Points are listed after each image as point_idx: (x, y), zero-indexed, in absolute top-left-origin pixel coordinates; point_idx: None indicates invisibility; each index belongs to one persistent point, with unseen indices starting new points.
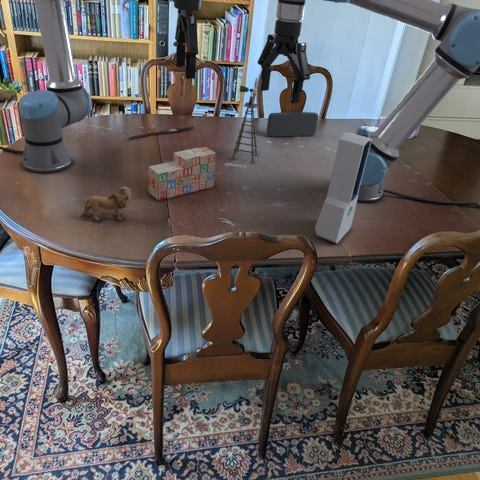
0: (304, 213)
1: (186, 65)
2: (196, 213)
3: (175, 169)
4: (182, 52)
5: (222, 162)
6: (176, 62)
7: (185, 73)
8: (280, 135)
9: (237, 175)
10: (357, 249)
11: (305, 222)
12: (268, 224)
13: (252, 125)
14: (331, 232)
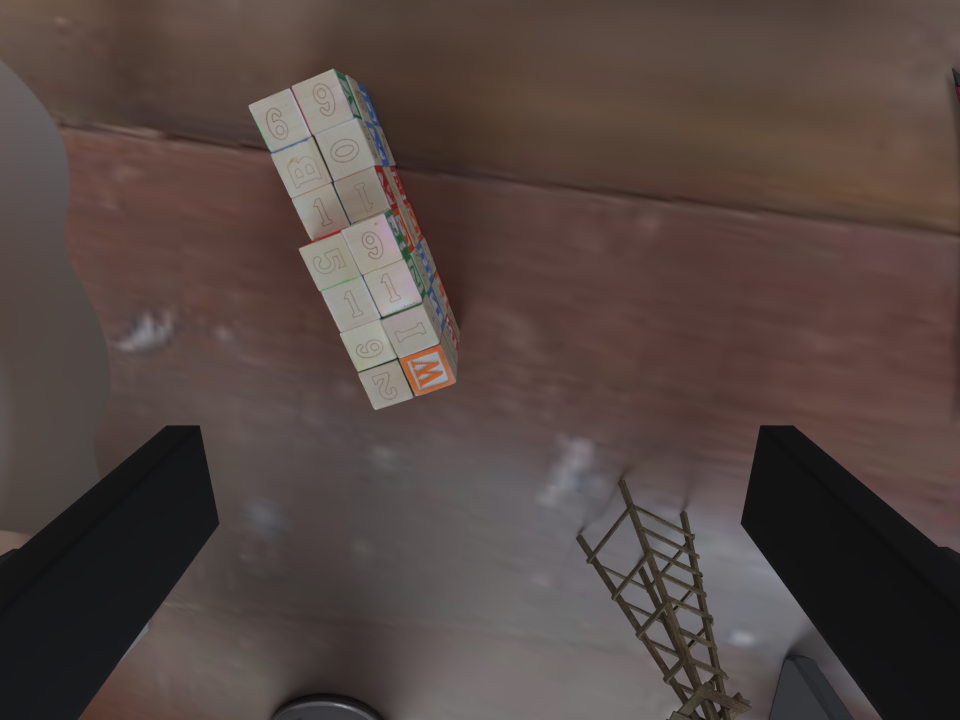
0: (207, 564)
1: (44, 529)
2: (200, 244)
3: (298, 199)
4: (865, 640)
5: (600, 436)
6: (793, 453)
7: (169, 453)
8: (779, 690)
9: (481, 457)
10: None
11: None
12: (136, 448)
13: (639, 637)
14: None
